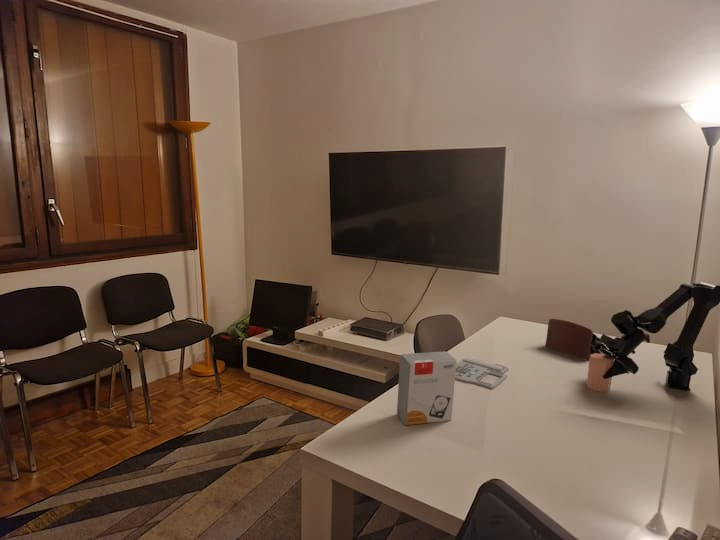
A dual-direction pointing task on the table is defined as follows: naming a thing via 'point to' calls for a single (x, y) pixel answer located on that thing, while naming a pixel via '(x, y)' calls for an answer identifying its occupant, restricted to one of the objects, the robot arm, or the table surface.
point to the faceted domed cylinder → (599, 372)
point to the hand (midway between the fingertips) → (596, 373)
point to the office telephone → (479, 372)
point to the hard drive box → (426, 387)
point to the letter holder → (570, 338)
